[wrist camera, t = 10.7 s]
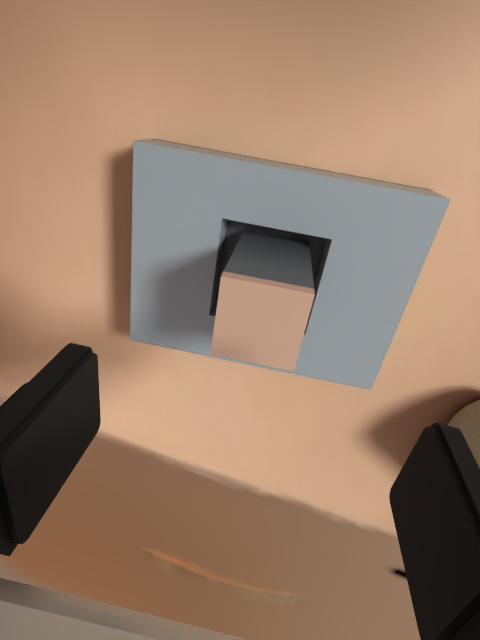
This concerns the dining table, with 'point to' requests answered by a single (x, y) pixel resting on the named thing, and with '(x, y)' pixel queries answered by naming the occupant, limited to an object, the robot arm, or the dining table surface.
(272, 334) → the charger
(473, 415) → the ceramic mug
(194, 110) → the dining table surface
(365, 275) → the outlet box
